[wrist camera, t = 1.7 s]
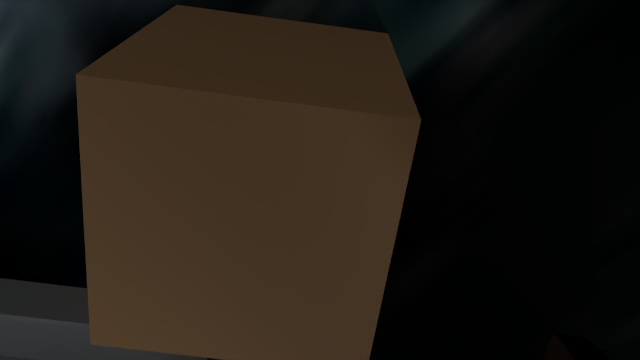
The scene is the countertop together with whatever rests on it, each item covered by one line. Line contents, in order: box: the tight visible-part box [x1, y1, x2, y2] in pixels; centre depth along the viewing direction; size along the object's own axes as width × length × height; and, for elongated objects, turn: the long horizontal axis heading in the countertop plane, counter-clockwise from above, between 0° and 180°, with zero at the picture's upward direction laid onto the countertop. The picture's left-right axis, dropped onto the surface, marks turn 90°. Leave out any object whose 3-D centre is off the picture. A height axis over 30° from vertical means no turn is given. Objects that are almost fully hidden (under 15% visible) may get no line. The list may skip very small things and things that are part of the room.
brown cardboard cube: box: [76, 5, 421, 360], centre depth 12 cm, size 5×5×6 cm
